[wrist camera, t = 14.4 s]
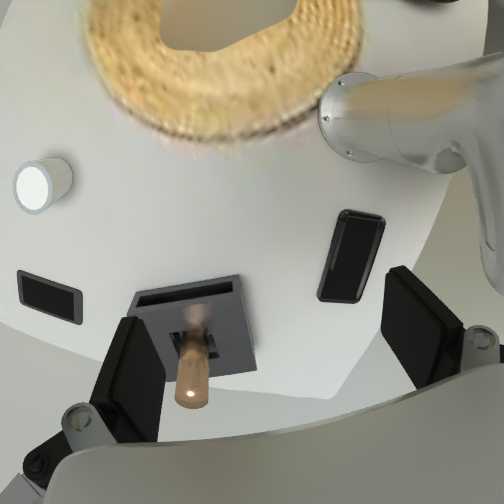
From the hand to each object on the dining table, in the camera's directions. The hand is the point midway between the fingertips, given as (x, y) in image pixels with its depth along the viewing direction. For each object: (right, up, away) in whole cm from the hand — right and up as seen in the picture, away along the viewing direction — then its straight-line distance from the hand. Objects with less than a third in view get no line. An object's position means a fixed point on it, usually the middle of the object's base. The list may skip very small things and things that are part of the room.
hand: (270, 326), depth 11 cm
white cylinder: (-28, +13, +25) cm, 40 cm away
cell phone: (-36, -5, +33) cm, 48 cm away
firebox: (-9, -8, +36) cm, 38 cm away
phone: (+14, +2, +35) cm, 37 cm away
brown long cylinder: (-9, -8, +36) cm, 38 cm away
